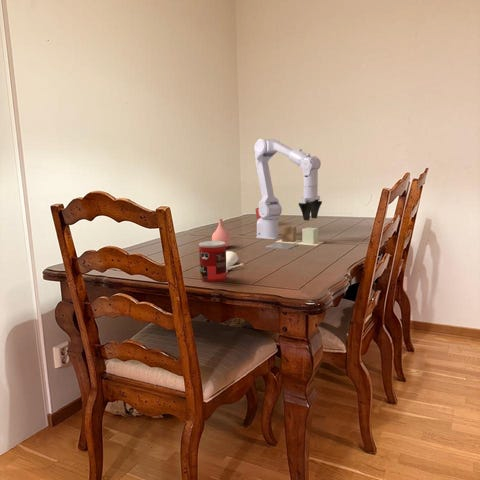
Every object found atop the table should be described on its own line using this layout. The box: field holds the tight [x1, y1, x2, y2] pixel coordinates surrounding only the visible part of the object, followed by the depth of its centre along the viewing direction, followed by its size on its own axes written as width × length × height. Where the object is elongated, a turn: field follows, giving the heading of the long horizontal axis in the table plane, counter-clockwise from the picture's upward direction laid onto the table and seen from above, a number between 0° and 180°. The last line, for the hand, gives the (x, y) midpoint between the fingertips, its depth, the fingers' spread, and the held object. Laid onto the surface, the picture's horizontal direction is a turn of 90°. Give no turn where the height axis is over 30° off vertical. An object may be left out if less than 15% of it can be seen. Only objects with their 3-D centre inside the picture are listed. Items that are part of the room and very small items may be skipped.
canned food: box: [198, 240, 228, 283], centre depth 131 cm, size 8×8×11 cm
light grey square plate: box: [265, 242, 299, 251], centre depth 178 cm, size 10×10×1 cm
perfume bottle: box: [211, 218, 231, 247], centre depth 177 cm, size 8×8×12 cm
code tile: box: [295, 240, 324, 246], centre depth 184 cm, size 9×9×1 cm
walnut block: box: [281, 225, 297, 243], centre depth 189 cm, size 5×5×6 cm
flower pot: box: [255, 207, 261, 222], centre depth 234 cm, size 11×11×10 cm
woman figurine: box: [226, 250, 245, 274], centre depth 146 cm, size 12×4×18 cm
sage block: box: [301, 226, 319, 244], centre depth 183 cm, size 5×5×6 cm
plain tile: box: [275, 239, 302, 244], centre depth 189 cm, size 9×9×1 cm
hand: (310, 219), depth 182 cm, fingers open, 7 cm apart
